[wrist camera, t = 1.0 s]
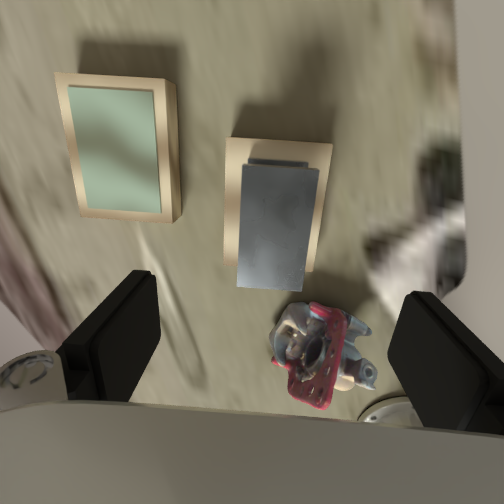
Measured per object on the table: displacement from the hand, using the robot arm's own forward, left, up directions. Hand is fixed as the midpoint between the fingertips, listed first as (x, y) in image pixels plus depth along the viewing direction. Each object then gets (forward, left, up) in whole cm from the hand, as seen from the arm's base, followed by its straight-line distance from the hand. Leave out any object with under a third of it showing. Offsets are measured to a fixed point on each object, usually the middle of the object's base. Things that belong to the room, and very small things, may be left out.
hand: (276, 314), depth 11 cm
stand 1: (+4, +14, -20) cm, 24 cm away
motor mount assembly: (-15, -6, -20) cm, 26 cm away
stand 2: (0, 0, -20) cm, 20 cm away
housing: (0, 0, -17) cm, 17 cm away
